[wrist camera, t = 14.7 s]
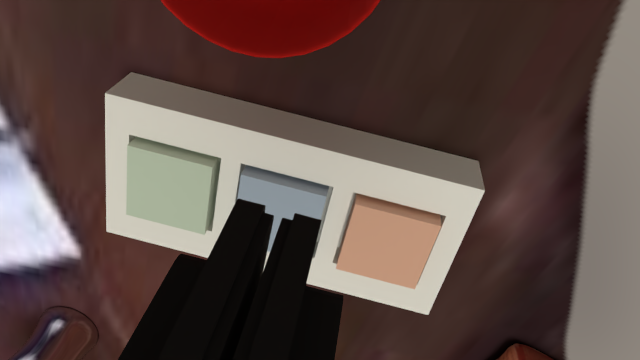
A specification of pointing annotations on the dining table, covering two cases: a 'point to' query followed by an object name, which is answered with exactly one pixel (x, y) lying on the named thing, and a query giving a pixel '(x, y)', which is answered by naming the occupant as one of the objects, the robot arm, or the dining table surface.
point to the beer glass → (59, 337)
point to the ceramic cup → (272, 23)
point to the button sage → (171, 185)
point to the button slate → (282, 195)
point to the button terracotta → (387, 241)
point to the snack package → (522, 353)
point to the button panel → (293, 160)
